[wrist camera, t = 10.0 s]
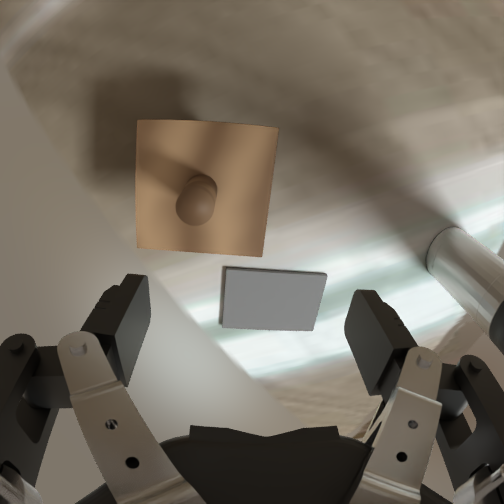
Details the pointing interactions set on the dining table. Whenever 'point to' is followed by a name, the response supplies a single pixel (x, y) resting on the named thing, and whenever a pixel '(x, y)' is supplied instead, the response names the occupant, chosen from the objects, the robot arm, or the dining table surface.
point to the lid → (203, 185)
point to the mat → (272, 299)
